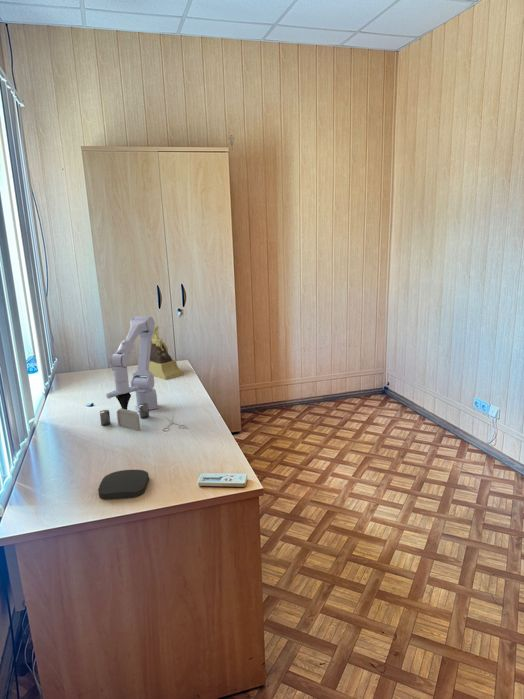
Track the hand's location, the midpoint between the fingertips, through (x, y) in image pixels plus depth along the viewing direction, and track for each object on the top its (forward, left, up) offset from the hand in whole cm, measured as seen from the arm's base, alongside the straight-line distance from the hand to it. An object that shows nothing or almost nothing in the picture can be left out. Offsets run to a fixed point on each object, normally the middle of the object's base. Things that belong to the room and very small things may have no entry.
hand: (124, 409), depth 208 cm
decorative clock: (-32, -70, -6) cm, 77 cm away
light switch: (0, +8, -6) cm, 10 cm away
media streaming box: (+10, +59, -6) cm, 60 cm away
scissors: (-18, +12, -6) cm, 23 cm away
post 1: (+8, -1, -6) cm, 10 cm away
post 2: (-9, -1, -6) cm, 10 cm away
